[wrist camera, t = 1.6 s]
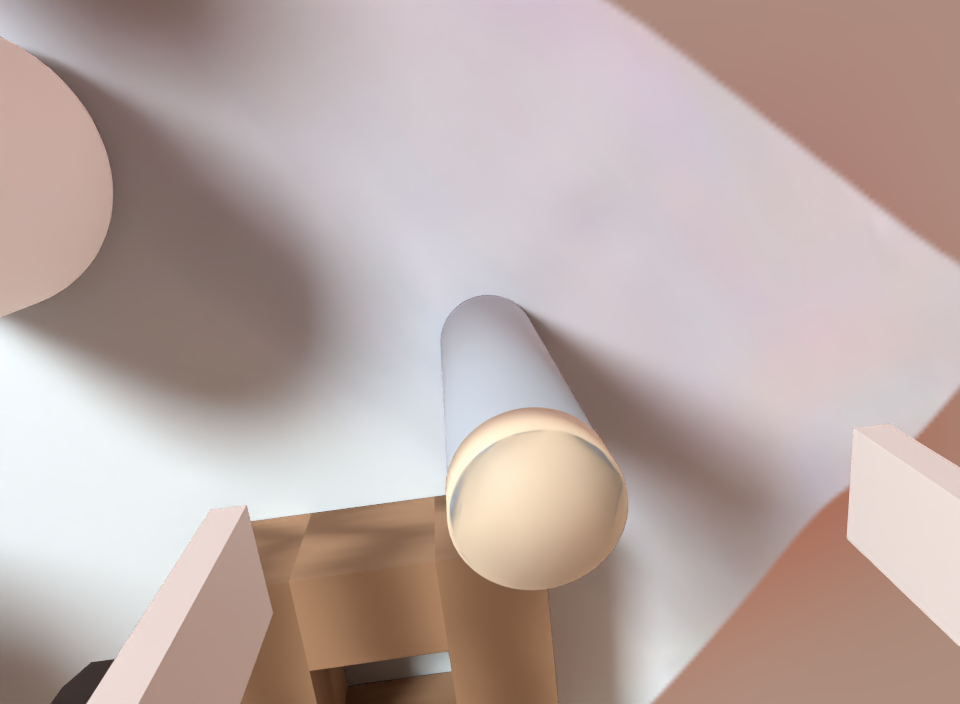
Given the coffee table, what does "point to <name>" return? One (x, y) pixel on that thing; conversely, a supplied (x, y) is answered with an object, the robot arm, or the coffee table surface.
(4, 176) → the cup
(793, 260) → the coffee table surface
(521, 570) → the peg
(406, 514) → the socket block
